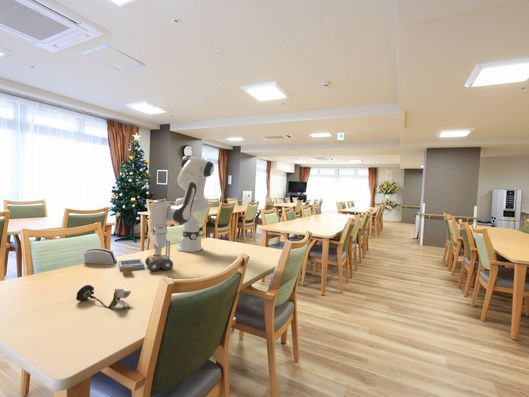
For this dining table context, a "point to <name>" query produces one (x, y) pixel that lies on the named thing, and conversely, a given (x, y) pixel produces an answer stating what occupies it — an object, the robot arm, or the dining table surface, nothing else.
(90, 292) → the artificial flower
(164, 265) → the trolley
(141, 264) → the tray
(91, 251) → the grey curved block
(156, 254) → the pin
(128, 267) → the chock
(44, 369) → the dining table surface
